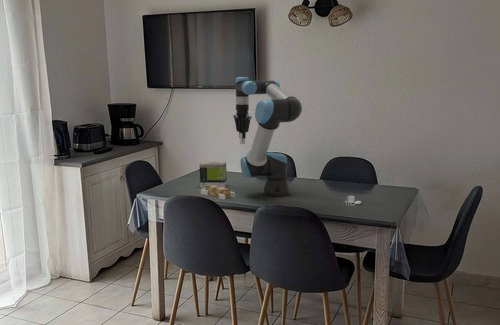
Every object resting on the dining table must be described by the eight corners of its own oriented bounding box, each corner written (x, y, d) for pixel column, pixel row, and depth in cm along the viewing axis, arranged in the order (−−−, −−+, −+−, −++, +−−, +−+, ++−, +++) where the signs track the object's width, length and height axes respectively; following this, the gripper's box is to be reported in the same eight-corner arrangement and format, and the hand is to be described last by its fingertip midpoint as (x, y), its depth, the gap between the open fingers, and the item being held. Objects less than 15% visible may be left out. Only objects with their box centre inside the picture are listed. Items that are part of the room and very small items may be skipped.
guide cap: (234, 196, 275) (234, 192, 274) (223, 199, 269) (223, 195, 268) (229, 195, 278) (229, 191, 277) (218, 198, 272) (218, 194, 271)
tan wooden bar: (229, 197, 274) (229, 189, 273) (224, 199, 271) (224, 190, 270) (211, 192, 285) (211, 184, 284) (206, 194, 282) (205, 185, 282)
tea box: (227, 184, 304) (226, 161, 301) (224, 188, 294) (224, 164, 291) (202, 184, 305) (202, 160, 302) (199, 188, 295) (199, 164, 293)
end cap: (217, 192, 284) (217, 188, 284) (206, 195, 278) (206, 191, 278) (210, 190, 288) (210, 186, 288) (199, 193, 282) (199, 189, 282)
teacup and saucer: (363, 204, 260) (363, 197, 259) (352, 207, 256) (352, 199, 255) (351, 201, 267) (351, 193, 266) (340, 203, 263) (340, 195, 262)
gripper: (254, 104, 287) (254, 144, 291) (238, 103, 296) (239, 142, 300) (245, 104, 281) (246, 145, 286) (229, 103, 290) (230, 143, 295)
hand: (242, 143), depth 293 cm, fingers closed
